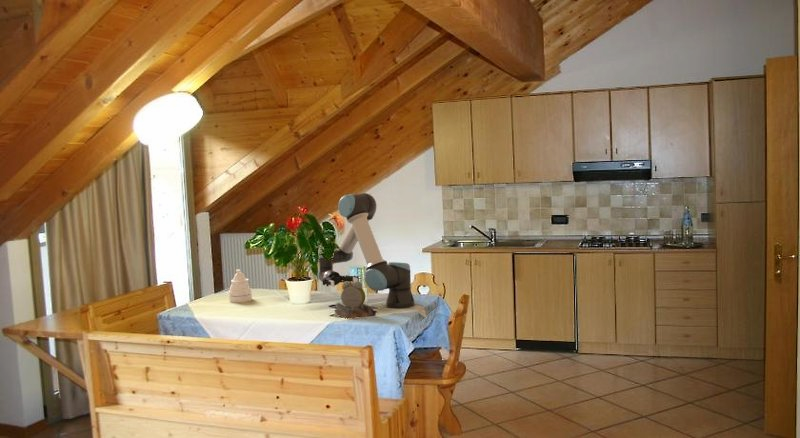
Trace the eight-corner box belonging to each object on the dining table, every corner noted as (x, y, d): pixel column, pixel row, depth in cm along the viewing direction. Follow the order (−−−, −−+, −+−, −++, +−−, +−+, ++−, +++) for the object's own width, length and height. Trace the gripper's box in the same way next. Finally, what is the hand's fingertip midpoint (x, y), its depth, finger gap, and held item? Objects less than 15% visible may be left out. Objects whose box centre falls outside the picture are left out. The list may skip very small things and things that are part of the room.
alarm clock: (367, 309, 349) (364, 280, 348) (362, 312, 343) (358, 282, 342) (346, 310, 353) (343, 281, 352) (340, 313, 347) (337, 283, 346)
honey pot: (249, 302, 392) (247, 270, 390) (226, 302, 392) (224, 271, 391) (254, 297, 405) (252, 267, 403) (232, 298, 405) (230, 268, 403)
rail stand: (360, 309, 361) (359, 300, 361) (373, 315, 345) (373, 306, 344) (334, 312, 355) (334, 303, 355) (347, 319, 339) (346, 310, 338)
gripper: (353, 282, 383) (368, 286, 364) (310, 287, 373) (323, 292, 353) (353, 268, 383) (367, 272, 363) (310, 273, 372) (322, 277, 353)
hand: (346, 282), depth 358 cm, fingers open, 13 cm apart
